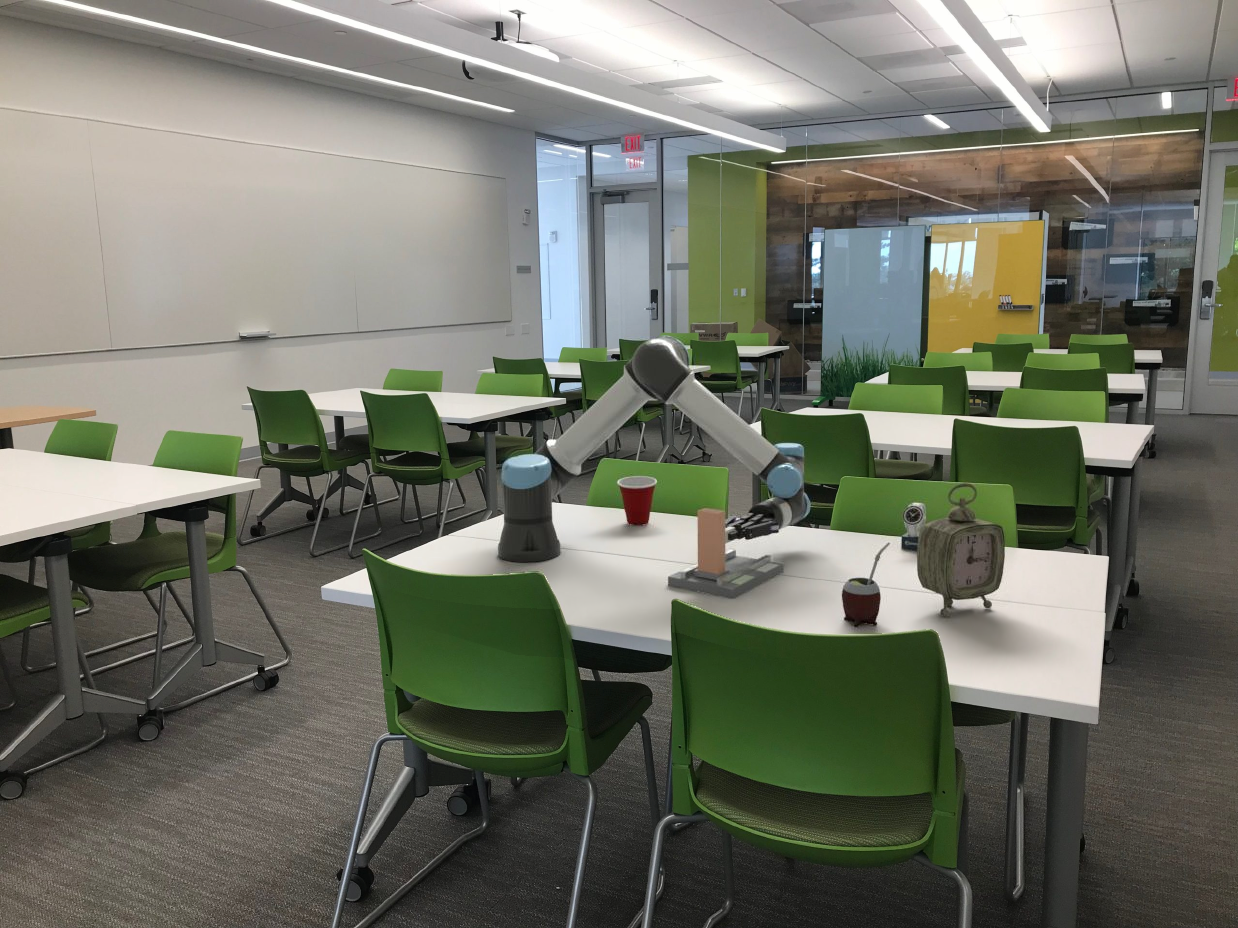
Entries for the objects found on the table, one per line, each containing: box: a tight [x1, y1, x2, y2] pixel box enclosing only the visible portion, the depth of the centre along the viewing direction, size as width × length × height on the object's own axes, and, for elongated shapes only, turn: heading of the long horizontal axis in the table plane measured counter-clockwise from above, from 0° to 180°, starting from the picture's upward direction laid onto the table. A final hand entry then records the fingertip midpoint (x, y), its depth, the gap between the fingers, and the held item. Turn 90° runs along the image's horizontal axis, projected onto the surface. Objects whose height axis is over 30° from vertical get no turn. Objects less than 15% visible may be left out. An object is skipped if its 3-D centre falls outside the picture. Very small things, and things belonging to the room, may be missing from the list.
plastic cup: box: [616, 475, 658, 526], centre depth 257 cm, size 11×11×12 cm
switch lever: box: [694, 507, 729, 580], centre depth 200 cm, size 6×4×14 cm, turn 53°
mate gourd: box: [841, 542, 891, 628], centre depth 178 cm, size 8×8×15 cm
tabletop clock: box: [916, 482, 1006, 618], centre depth 183 cm, size 14×9×25 cm, turn 114°
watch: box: [900, 502, 927, 552], centre depth 227 cm, size 6×8×11 cm
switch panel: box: [667, 548, 785, 600], centre depth 207 cm, size 16×22×4 cm
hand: (717, 539), depth 202 cm, fingers closed
